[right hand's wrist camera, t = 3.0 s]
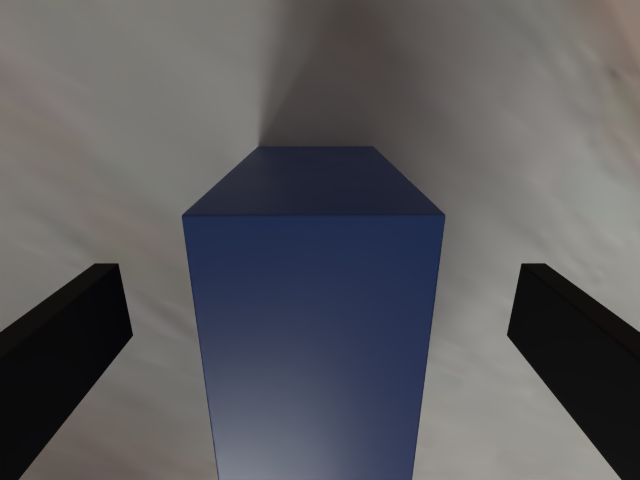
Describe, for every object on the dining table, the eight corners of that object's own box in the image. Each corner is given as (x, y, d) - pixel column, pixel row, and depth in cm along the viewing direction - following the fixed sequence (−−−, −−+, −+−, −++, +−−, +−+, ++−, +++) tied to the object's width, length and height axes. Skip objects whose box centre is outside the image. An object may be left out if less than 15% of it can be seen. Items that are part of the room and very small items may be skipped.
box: (257, 146, 20) (180, 215, 9) (373, 146, 20) (446, 214, 9) (274, 436, 28) (244, 673, 16) (359, 435, 28) (387, 671, 16)
